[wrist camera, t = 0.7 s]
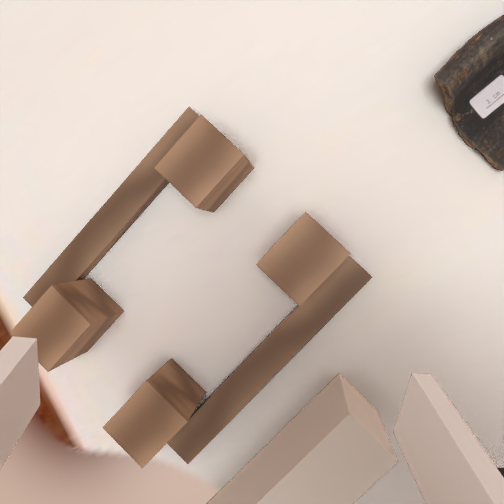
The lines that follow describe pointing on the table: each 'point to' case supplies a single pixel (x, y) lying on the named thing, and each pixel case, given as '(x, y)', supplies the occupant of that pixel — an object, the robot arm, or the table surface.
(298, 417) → the light grey rectangular block
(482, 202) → the table surface
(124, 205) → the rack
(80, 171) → the table surface
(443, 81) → the pottery fragment
